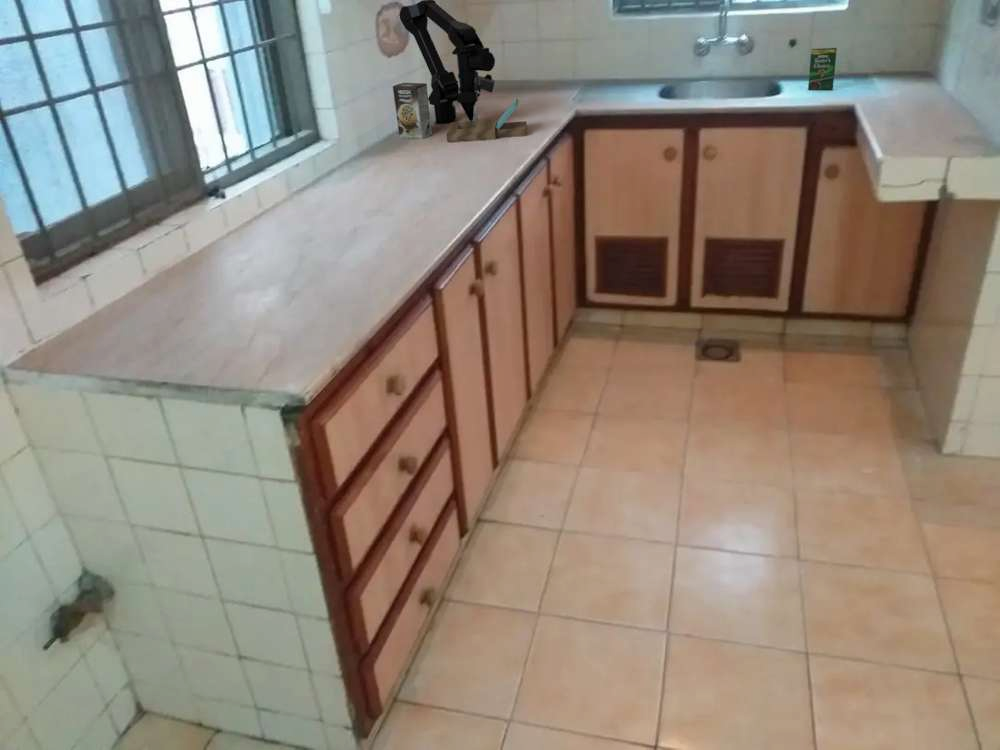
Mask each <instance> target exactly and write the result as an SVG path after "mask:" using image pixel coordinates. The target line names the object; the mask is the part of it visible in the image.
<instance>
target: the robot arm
mask: <svg viewBox="0 0 1000 750" xmlns="http://www.w3.org/2000/svg"><path fill="white" fill-rule="evenodd" d="M399 11H400V12H399V15H398V17H399V16H400V17H399V20H400V22H401V24H402V25H403V27H404V28H405V30H406V31H407V32H409V33H410V34H412V36H413V37H414V39H415V42H416V45H417V46H418V48H419V50H420V53H421V55H422V57H423V60H424V62H425V64H426V66H427V69H428V71H429V74H430V76H431V81H430V87H431V89H432V90H431V92H430V95H428V103H429V106H430V105H431V106H433V108H434V115H435V122H434V124H435V125H436V124H448V123H449V124H451V122H456V119H457V111H456V110H457V107H456V105H454V102H457V103H460V106H461V107H462V109H463V110H464V114H465V113H466V115H467V117H468V119H469V120H470V121H473V113H474V104H475V103H477V102H478V101H479V98H480V95H481V92H482V91H487V93H493V90H494V87H495V84H496V83H495V82H496V81H495V80H494V79H493V77H492V74H490V73H487V74H486V75H485V76H481V75H479V72H478V71H480V72H481V71H482V72H491V71H492V70H493V69H494V67H495V63H496V59H495V56H494V55H493V53H492V52H490V47H485V45H483V42H482V41H481V39H480V37H479V35H478V34H477V32H476V29H475V28H474V27H473V26H471V25H470V24H468V23H465V22H461V21H459V20H458V19H455V18H454V16H452V15H450V14H449V13H448V12H447V11H446V10H445V9H443V8H442V7H441V6H440V5H438V4H437V3H436V0H421V1H418V2H417V3H415V4H410V5H405V6H402V7H401V8H400V10H399ZM428 19H429V20H431V21H432V23H434V24H435V25H436V26H438V27H439V28H440V29H442V30H443V31H444V32H445V33H446V34H447V38H448V40H449V41H450V43H452V45H453V46H454V47H455V49H454V50H452V51H451V52H452V53H451V54H452V55H455V56H456V58H457V71H458V74H457V77H456V74H455V73H454V72H453V71H448V70H447V69H446V67H445V65H444V63H443V62H442V59H441V56H440V55H439V52H438V50H437V48H436V45H435V44H434V41H433V39H432V37H431V35H430V33H429V29H428V21H429V20H428ZM457 78H458V80H457ZM458 83H459V84H458ZM477 91H478V92H479V93H478V92H477Z"/></svg>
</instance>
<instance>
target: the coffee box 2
mask: <svg viewBox="0 0 1000 750" xmlns="http://www.w3.org/2000/svg"><path fill="white" fill-rule="evenodd" d="M836 58H837V47H824V48H811V50H810V59H809V60H810V62H809V73H808V75H809V76H808V83H807V84H808V87H807V90H808V91H824V90H825V91H833V89H834V83H835V82H834V81H835V70H836V60H837V59H836Z"/></svg>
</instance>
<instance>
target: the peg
mask: <svg viewBox="0 0 1000 750" xmlns="http://www.w3.org/2000/svg"><path fill="white" fill-rule="evenodd" d="M464 115H465V121H470V120H469V119H468V117H467V115H466V113H465V112H464ZM478 115H479V114H478V105H477V102H476V103H475V104H474V113H473V121H479V117H478Z"/></svg>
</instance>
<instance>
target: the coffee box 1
mask: <svg viewBox="0 0 1000 750" xmlns="http://www.w3.org/2000/svg"><path fill="white" fill-rule="evenodd" d="M392 92H393V98H394V99H393V100H394V108H395V115H396V120H397V129H398V137H399V139H412V138H415V139H416V138H418V139H416V140H424V139H426V138H427V136H428V137H430V136H432V135H433V132H432V124H431V123H432V122H431V113H430V103H429V100H428V98H429V95H428V94H429V93H428V84H427V83H424V82H423V83H422V82H420V83H419V82H401V83H398V84H395V85H393V86H392ZM429 135H430V136H429ZM425 137H426V138H425ZM423 138H424V139H423ZM415 139H414V140H415Z"/></svg>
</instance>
